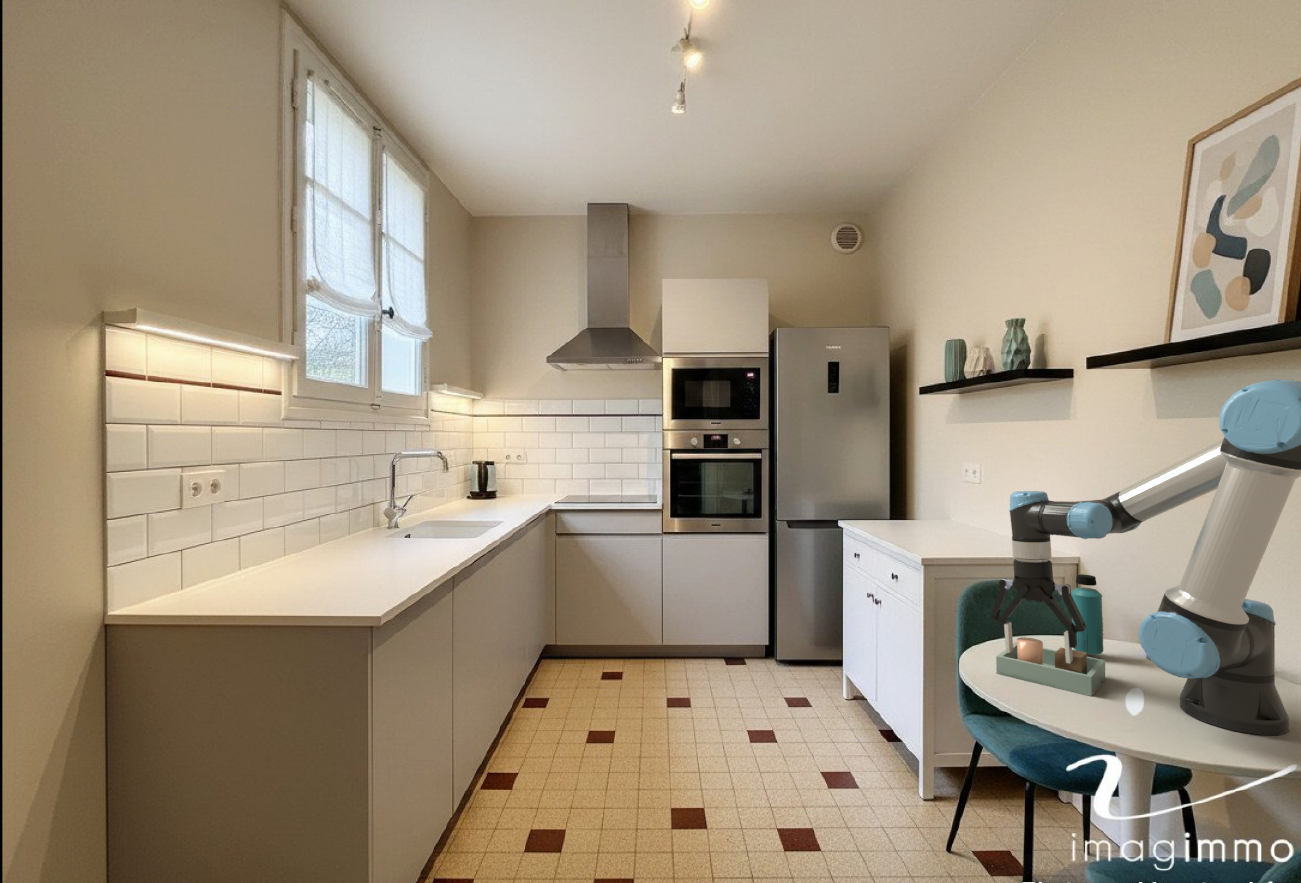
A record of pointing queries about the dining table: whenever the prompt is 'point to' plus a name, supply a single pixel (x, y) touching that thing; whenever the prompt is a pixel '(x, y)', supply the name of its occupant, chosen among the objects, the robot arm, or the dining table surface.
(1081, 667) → the walnut cube
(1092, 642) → the beverage bottle
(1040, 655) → the peach rounded smooth part
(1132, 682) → the dining table surface
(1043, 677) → the tray
